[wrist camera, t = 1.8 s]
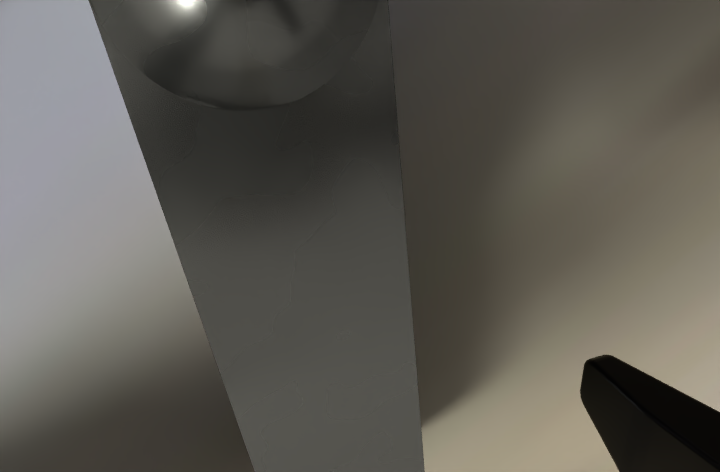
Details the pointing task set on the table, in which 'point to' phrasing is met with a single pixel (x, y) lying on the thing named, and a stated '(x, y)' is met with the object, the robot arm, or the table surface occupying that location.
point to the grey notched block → (284, 214)
